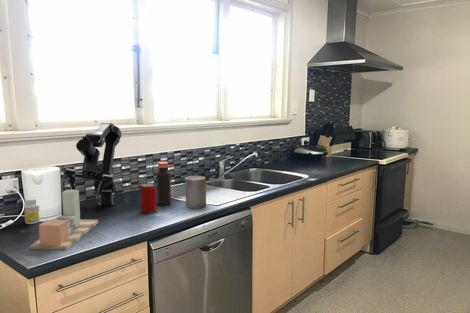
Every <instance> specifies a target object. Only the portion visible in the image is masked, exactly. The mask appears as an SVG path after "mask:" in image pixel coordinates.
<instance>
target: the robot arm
mask: <svg viewBox="0 0 470 313" xmlns="http://www.w3.org/2000/svg"><path fill="white" fill-rule="evenodd" d="M122 135H123V134H122V131H121V129H120V128H119V127H118V126H116V125H114V123H111V122H101V123H100V126H99V127H98V128H97V129H96V130H94V131H93V132H88V133H86V134H85V136H82V139H79V140H78V141H77V143H76V145H75V147H76V149H77V151H78V152H79V153H80V154H81V155H82V156H83V163H82V168H81V172H76V169H72V168H65V169H64V171H63V174H62V179H63V180H65V181H66V182H68V184H69V187H70V188H69V189H70V190H75V183H76V182H75V181H76V178H78V179H84V180H91V181H94V182H93V188H94V192H95V194H96V200H98V199H99V202H97V204H98V205H99V206H100V207H101V208H103V207H110V206H115V205H116V203H114V202H113V201H114V200H113V194H115V193H117V190H118V189H117V184H116V183H115V182H116V181H115V179H114V176H113V175H112V171H113V165H114V164H113V163H114V157H115V152H116V151H115V150H116V146H117V145H119V143H120V141H121V138H122ZM104 145H105V146H104ZM103 146H104V151H103V156H102V157H103V158H102V163H99V158H100V156H101V152H100V150H99V149H98V148H102V147H103Z"/></svg>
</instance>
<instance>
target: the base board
mask: <svg viewBox="0 0 470 313" xmlns="http://www.w3.org/2000/svg"><path fill="white" fill-rule="evenodd" d="M54 220H57V221H67V234H68V239H67V240H66V241H65V242H63V243H62V244H40V238H38V240H37V241H35V242H34V243H31V244H30V246H29V247H30V248H29V249H30V250H54V251H55V249H57V250H58V249H59V250H60V251H61V250H62V251H63V249H64V250H65V251H66V249H67V250H68V249H69V248H70V247H71V246H73V245H74V244H75V243H76V242H77V241H79V240H80V239H81V238H82V237H83V236H85V234H86V233H89V231H91V230H92V229H93V228H94V227H96V225H97V224H99V219H86V218H85V219H81V218H80V224H81V225H80V226H79V227H77V228H76V216H63V215H59V216H58V217H56V218H55V219H54ZM59 250H58V251H59Z"/></svg>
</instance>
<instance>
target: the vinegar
mask: <svg viewBox="0 0 470 313" xmlns="http://www.w3.org/2000/svg"><path fill="white" fill-rule="evenodd" d="M157 168H158V170H157V171H156V173H155V185H156V186H155V191H156V205H159V206H167V205H170V204H171V203H172V191H171V190H172V188H171V186H172V184H171V183H172V182H171V181H172V180H171V178H172V177H171V171H170V170H169V162H168V161H159V162H157Z"/></svg>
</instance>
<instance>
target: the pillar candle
mask: <svg viewBox="0 0 470 313" xmlns="http://www.w3.org/2000/svg"><path fill="white" fill-rule="evenodd" d="M184 179H185V180H184V181H185V182H184V184H185V187H184V188H185V207H186V208H187V209H202V208H205V207H206V206H207V183H206V180H207V178H206V176H203V175H189V176H186V177H184Z"/></svg>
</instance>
